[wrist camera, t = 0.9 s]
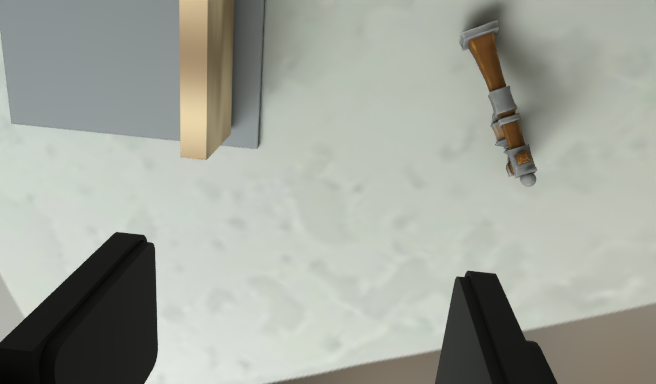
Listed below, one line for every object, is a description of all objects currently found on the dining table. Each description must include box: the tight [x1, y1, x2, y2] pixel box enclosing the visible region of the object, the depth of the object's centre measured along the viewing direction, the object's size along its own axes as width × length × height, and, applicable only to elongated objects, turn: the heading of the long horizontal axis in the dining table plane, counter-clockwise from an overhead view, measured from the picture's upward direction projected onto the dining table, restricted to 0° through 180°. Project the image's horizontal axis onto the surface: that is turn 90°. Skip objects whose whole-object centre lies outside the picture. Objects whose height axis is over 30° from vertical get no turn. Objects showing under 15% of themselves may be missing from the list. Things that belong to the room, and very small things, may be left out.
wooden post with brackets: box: [460, 20, 537, 187], centre depth 28 cm, size 2×8×4 cm, turn 20°
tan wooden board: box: [179, 0, 234, 160], centre depth 25 cm, size 12×2×5 cm, turn 175°
